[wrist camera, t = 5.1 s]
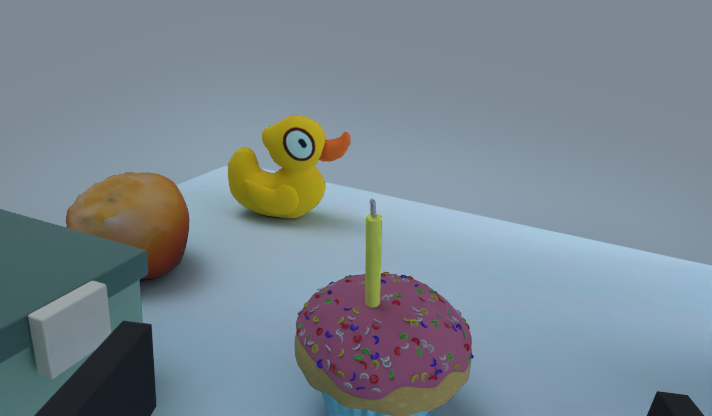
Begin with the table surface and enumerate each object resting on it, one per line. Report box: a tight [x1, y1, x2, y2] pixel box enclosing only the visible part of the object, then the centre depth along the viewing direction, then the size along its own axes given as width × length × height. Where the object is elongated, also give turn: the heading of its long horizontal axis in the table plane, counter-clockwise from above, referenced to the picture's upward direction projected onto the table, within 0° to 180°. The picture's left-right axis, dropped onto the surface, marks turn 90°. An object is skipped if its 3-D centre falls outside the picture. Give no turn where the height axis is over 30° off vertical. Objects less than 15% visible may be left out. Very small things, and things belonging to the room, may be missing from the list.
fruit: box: [66, 173, 189, 279], centre depth 35 cm, size 8×8×8 cm
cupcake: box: [295, 199, 473, 416], centre depth 22 cm, size 9×8×12 cm
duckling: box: [228, 115, 350, 218], centre depth 45 cm, size 11×5×10 cm, turn 92°
